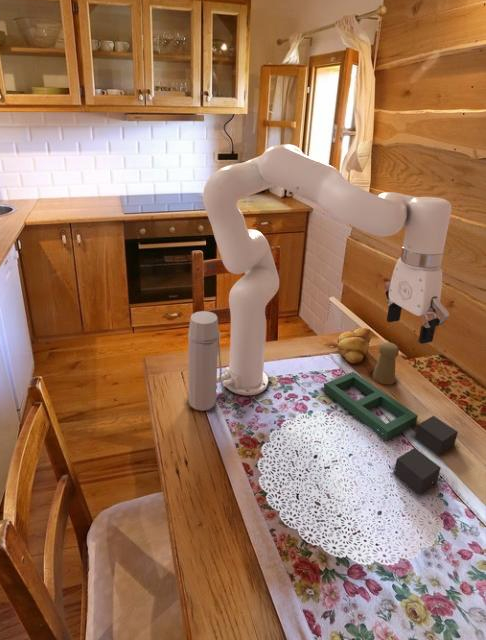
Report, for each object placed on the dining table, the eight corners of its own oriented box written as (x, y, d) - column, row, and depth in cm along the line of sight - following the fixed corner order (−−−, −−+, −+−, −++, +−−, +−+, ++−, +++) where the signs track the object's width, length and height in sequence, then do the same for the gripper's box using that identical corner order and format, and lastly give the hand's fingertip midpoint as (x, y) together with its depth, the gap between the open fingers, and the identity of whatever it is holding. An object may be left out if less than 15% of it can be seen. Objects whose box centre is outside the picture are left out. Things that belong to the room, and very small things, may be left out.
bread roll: (365, 369, 121) (369, 346, 118) (331, 361, 125) (335, 338, 122) (369, 348, 132) (373, 326, 129) (338, 341, 136) (341, 320, 133)
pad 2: (419, 495, 81) (423, 479, 80) (393, 473, 86) (396, 458, 85) (437, 482, 84) (441, 467, 83) (411, 461, 89) (414, 447, 88)
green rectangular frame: (386, 440, 95) (388, 432, 94) (323, 391, 111) (324, 383, 110) (416, 423, 100) (418, 415, 99) (352, 378, 116) (353, 371, 116)
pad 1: (438, 455, 91) (442, 441, 89) (414, 438, 96) (417, 424, 94) (454, 445, 94) (458, 431, 92) (430, 428, 98) (433, 415, 97)
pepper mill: (391, 372, 120) (397, 339, 116) (397, 385, 114) (404, 351, 110) (370, 370, 120) (375, 338, 117) (375, 383, 115) (381, 349, 111)
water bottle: (197, 417, 100) (198, 328, 92) (182, 399, 106) (182, 314, 98) (228, 404, 105) (231, 318, 97) (212, 387, 111) (214, 305, 103)
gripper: (378, 247, 90) (368, 316, 96) (440, 274, 75) (424, 354, 80) (405, 244, 93) (394, 311, 98) (471, 270, 77) (454, 348, 83)
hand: (408, 331), depth 89 cm, fingers open, 9 cm apart
